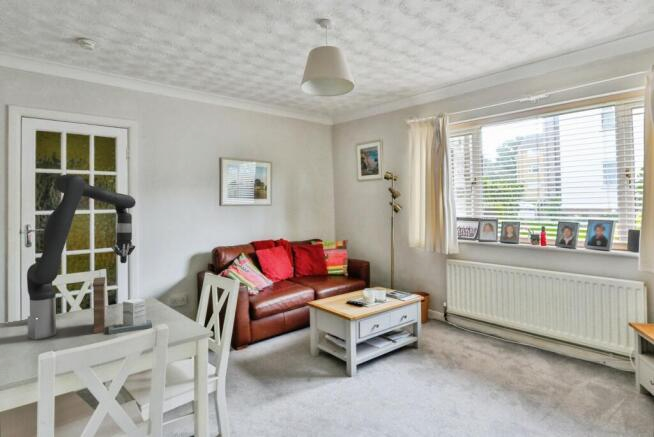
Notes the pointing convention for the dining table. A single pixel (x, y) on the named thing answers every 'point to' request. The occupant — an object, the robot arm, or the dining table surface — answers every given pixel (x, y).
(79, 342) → the dining table surface
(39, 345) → the dining table surface
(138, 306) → the supplement box
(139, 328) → the slate bay
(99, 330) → the walnut partition
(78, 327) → the dining table surface
